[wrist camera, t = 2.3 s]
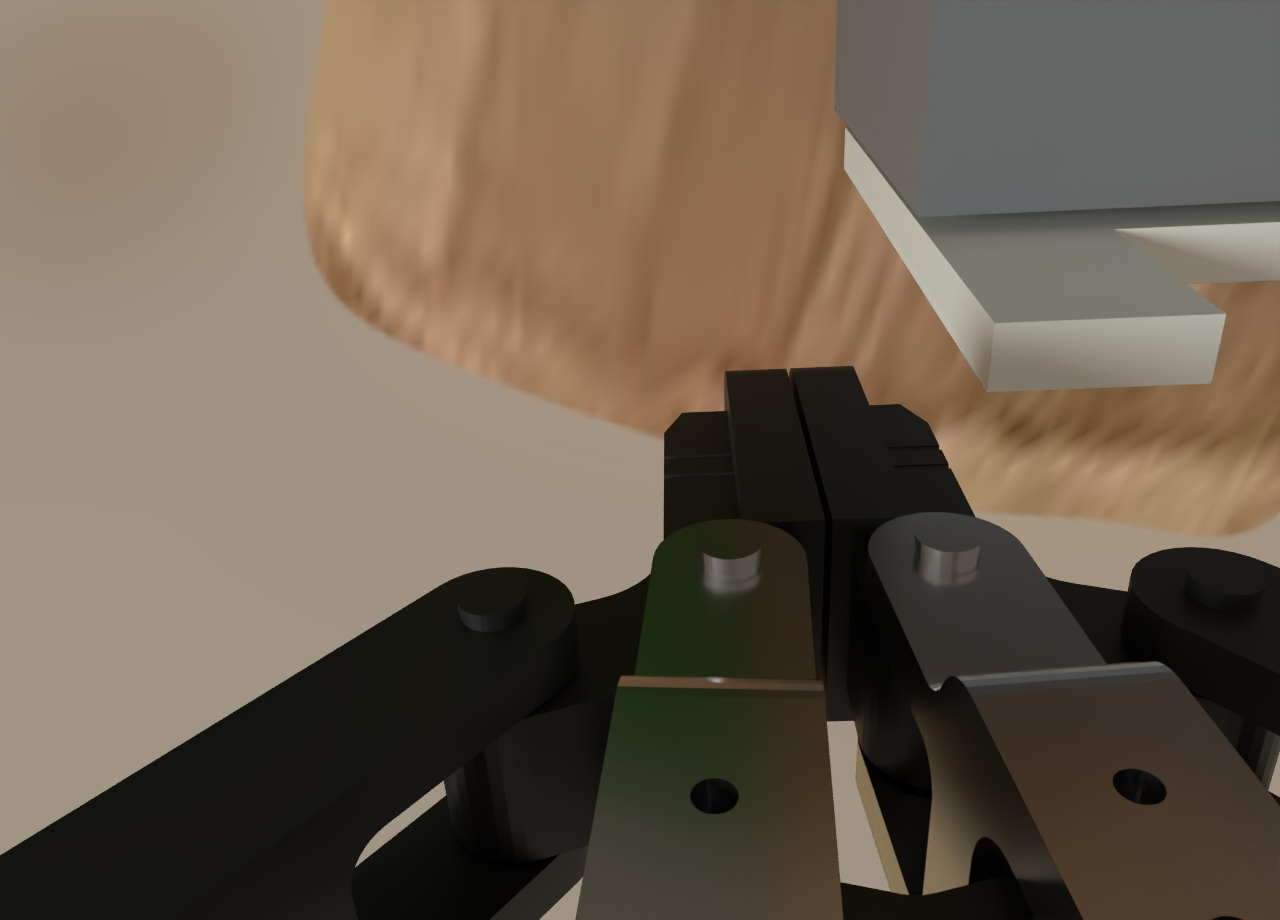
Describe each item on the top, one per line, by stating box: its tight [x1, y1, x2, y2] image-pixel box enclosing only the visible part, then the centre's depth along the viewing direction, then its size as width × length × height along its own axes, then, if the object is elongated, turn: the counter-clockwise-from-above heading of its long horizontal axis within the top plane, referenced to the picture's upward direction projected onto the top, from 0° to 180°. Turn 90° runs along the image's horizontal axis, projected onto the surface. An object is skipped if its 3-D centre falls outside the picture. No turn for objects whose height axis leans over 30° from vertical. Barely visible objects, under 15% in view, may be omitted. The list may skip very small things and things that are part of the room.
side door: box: [844, 127, 1280, 392], centre depth 20 cm, size 1×10×14 cm, turn 93°
